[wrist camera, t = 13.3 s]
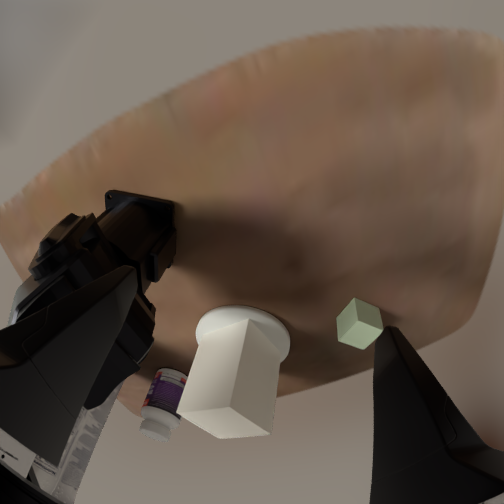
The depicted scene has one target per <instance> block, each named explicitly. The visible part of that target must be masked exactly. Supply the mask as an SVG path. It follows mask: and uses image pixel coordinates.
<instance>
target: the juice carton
mask: <svg viewBox="0 0 504 504" xmlns="http://www.w3.org/2000/svg"><path fill="white" fill-rule="evenodd" d="M123 382H124V381H122V382H121V383H120V384H119V385H118V386H117V387H116V388H115V389H114V390H113V391H112V393H111V394H110V395H109V396H108V398H107V399H106V400H105V401H104V403H103V404H102V405H100V406H98V407H95V408H93V409H91V410H86V409H85V408H84V407H82V409H81V411H80V413H79V416H78V418H77V420H76V423H75V425H74V427H73V430H72V432H71V435H70V437H69V439H68V442H67V444H66V447H65V449H64V452H63V454H62V457H61V459H60V462H59V464H58V466H57V467H56V466H54V465H53V464H51V463H49V462H48V461H46V460H44V459H43V458H41V457H40V456H38V455H37V454H36V456H35V458H34V460H33V463H32V467H33V470H34V472H35V475H36V478H37V480H38V483H39V486H40V488H41V489H42V490H44V491H45V492H47V493H48V494H50V495H52V496H53V497H55V498H57V499H58V500H60V501H62V502H63V503H65V504H74V501H75V497H76V494H77V491H78V488H79V485H80V483H81V480H82V477H83V475H84V473H85V470H86V467H87V465H88V462H89V460H90V458H91V455H92V453H93V450H94V448H95V445H96V443H97V441H98V438H99V436H100V433H101V431H102V429H103V427H104V424H105V422H106V420H107V418H108V415H109V413H110V411H111V408H112V406H113V404H114V402H115V400H116V398H117V395H118V393H119V391H120V389H121V387H122V385H123Z"/></svg>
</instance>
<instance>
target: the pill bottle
mask: <svg viewBox="0 0 504 504" xmlns="http://www.w3.org/2000/svg"><path fill="white" fill-rule="evenodd" d="M187 379H188V377H187V376H186V375H184V374H183V373H181V372H179V371H176V370H173V369H168V368H163V369H159V370H158V371H157V372H156V375H155V377H154V379H153V382H152V384H151V387H150V389H149V391H148V394H147V396H146V399H145V401H144V404H143V406H142V409H141V414H142V416H143V418H144V419H145V420H144V421H142V423H141V426H140V429H139V431H140V432H141V433H142V434H144V435H145V436H148V437H149V438H152V439H154V440H158V441H161V442H168V440H169V438H170V435H171V431H170V429H175V428H177V427H178V426H179V424H180V421H181V418H182V416H181V415H179V414H178V413H176V411H177V408H178V405H179V402H180V399H181V396H182V394H183V391H184V388H185V385H186V382H187Z"/></svg>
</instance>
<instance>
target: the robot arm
mask: <svg viewBox="0 0 504 504" xmlns="http://www.w3.org/2000/svg"><path fill="white" fill-rule="evenodd" d="M110 195H111V196H112V198H111V197H110ZM166 206H168V207H169V208H170V209H167V208H166ZM105 207H106V210H105V211H104V212H103V213H102V214H101V215H100V216H98V217H97V218H96V217H95V216H94V214H93V213H91V214H89V215H87V216H85V215H84V216H82V217H80V216H77V215H75V214H73V213H71V214H69V215H67V216H66V217H65V218H64V219H62V220H61V221H60V222H59V223H58V224H57V225H55V226H54V227H53V228H52V229H51V230H50V231H49V232H48V234H47V235H46V236H45V237H44V238H43V239H42V241H41V242H40V245H39V249H38V251H37V253H36V255H35V256H34V258H33V260H32V262H31V264H30V266H29V268H28V270H29V272H30V273H31V274H32V275H31V276H30V277H29V278H28V279H27V280H26V281H25V282H24V283H23V284H22V285H21V286H20V287H19V288H18V289H17V291H16V294H15V297H14V301H13V305H12V309H11V313H10V317H9V321H8V325H7V327H6V328H4V329H2V330H0V504H65V503H63V502H62V501H60V500H58V499H57V498H55V497H53V496H52V495H50V494H48V493H47V492H45V491H44V490H42V489H41V488H40V486H39V483H38V480H37V478H36V475H35V472H34V470H33V467H32V463H33V460H34V458H35V456H36V454H37V455H38V456H40V457H41V458H43V459H44V460H46V461H48V462H49V463H51V464H53V465H54V466H56V467H57V466H58V464H59V462H60V459H61V457H62V454H63V452H64V449H65V447H66V444H67V442H68V439H69V437H70V435H71V432H72V430H73V427H74V425H75V423H76V420H77V418H78V416H79V413H80V411H81V409H82V407H84V408H85V409H86V410H91V409H93V408H95V407H98V406H100V405H102V404H103V403H104V401H105V400H106V399H107V398H108V396H109V395H110V394H111V393H112V391H113V390H114V389H115V388H116V387H117V386H118V385H119V384H120V383H121V382H122V381H124V380H125V379H126V378H127V377H129V376H130V375H132V374H134V373H135V372H137V371H138V370H140V368H141V367H140V365H139V364H140V363H141V362H142V361H143V360H144V358H145V357H146V356H147V354H148V352H149V350H150V348H151V346H152V345H153V342H154V338H153V336H152V334H153V330H154V326H155V320H154V318H155V311H156V308H155V307H154V305H153V304H152V303H150V302H149V301H148V299H147V298H146V296H145V295H144V294H145V292H146V290H147V289H148V287H149V285H150V284H151V282H155V283H157V282H158V281H159V280H160V278H161V277H162V275H163V273H164V272H165V270H166V268H170V267H171V265H172V263H173V257H174V255H175V253H176V228H175V227H174V204H173V203H172V202H170V201H166V200H161V199H156V198H151V197H146V196H141V195H135V194H130V193H125V192H120V191H114V190H109V191H108V192H106V194H105ZM373 396H374V397H373V400H374V442H373V467H372V484H371V493H370V504H504V451H500V450H497V449H494V448H492V447H490V446H488V445H487V444H485V443H484V442H483V440H482V439H481V438H480V437H479V435H478V434H477V433H476V431H475V430H474V429H473V428H472V426H471V425H470V424H469V423H468V422H467V420H466V419H465V418H464V416H463V415H462V414H461V413H460V411H459V410H458V408H457V407H456V406H455V404H454V403H453V401H452V400H451V398H450V397H449V396H447V393H446V392H445V390H444V389H443V387H442V386H441V384H440V383H439V382H438V380H437V379H436V377H435V376H434V375H433V373H432V372H431V371H430V370H429V368H428V367H427V365H426V364H425V363H424V361H423V360H422V359H421V357H420V356H419V355H418V353H417V352H416V351H415V349H414V348H413V347H412V345H411V344H410V343H409V342H408V340H407V339H406V338H405V336H404V335H403V334H402V333H401V331H400V330H399V329H398V328H397V327H394V326H386V327H385V328H384V330H383V331H382V333H381V334H380V336H379V337H378V338H377V340H376V343H375V355H374V373H373Z"/></svg>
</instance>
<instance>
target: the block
mask: <svg viewBox="0 0 504 504" xmlns="http://www.w3.org/2000/svg"><path fill="white" fill-rule="evenodd" d="M336 320H337V333H338V341H340V342H343V343H345V344H348V345H351V346H354V347H357V348H360V349H363V350H364V349H365V348H366V347H367V346H368V345H370V344H371V343H372V342H373V341H374V340H375V339H376V338H377V337H378V336H379V335H380V334H381V333H382V331H383V330H384V329H383V324H382V320H381V315H380V311H379V308H378V307H375V306H373V305H371V304H368V303H366V302H364V301H361V300H359V299H357V298H355V297H354V298H353V299H352V301H351V302H350V303H349V304H348V305H347V306H346V307H345V309H344V310H343V311H342V312H341V313H340V314H339V315H338V316H337V318H336Z"/></svg>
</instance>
